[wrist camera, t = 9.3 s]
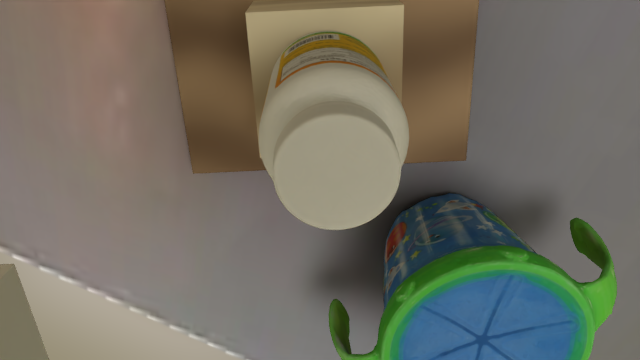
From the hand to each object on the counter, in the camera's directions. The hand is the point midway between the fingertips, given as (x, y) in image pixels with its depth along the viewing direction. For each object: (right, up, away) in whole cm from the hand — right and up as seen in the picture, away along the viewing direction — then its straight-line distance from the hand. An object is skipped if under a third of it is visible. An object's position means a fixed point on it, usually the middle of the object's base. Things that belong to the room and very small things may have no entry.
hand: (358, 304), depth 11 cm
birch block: (0, +9, +18) cm, 20 cm away
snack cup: (+7, -1, +25) cm, 26 cm away
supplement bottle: (0, +7, +15) cm, 16 cm away
